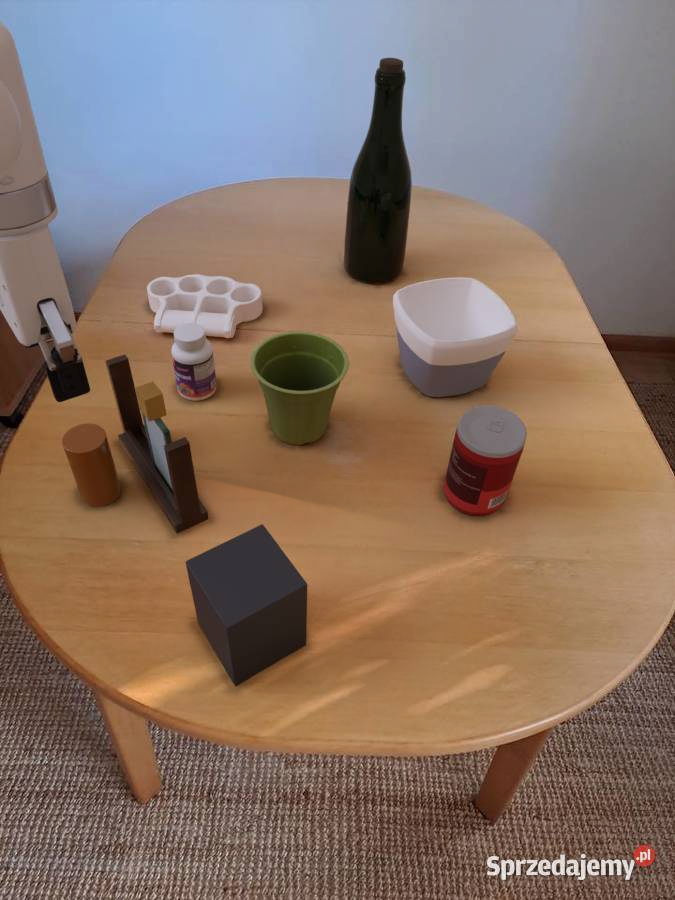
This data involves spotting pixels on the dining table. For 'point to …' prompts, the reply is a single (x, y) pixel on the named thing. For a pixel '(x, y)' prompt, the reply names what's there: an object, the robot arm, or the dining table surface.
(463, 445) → the canned food
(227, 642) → the stand
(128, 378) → the window frame
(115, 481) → the orange-brown cylinder
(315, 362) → the plant pot
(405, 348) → the bowl
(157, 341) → the dining table surface
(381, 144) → the wine bottle
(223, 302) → the white compartment tray
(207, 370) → the pill bottle
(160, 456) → the pane
